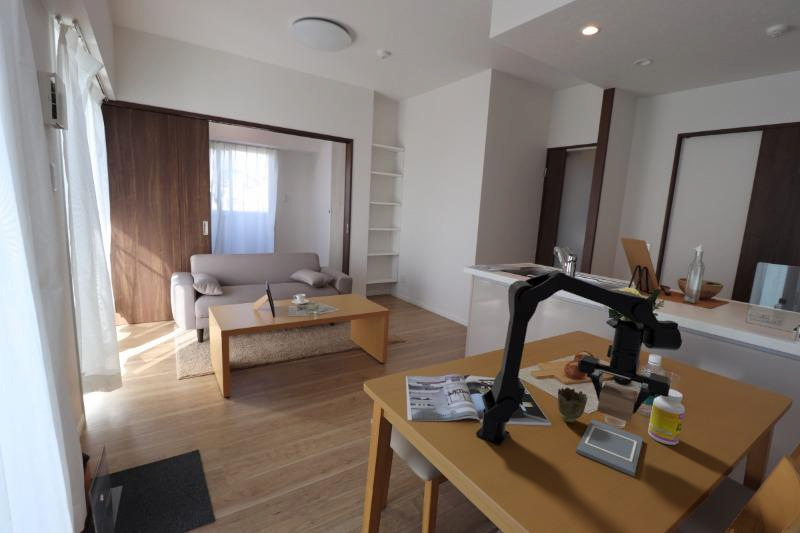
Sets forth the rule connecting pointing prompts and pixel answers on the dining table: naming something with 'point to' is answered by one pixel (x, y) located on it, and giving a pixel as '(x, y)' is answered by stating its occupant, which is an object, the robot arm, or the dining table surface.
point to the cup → (571, 404)
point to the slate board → (611, 446)
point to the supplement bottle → (667, 418)
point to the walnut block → (617, 401)
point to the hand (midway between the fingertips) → (616, 407)
